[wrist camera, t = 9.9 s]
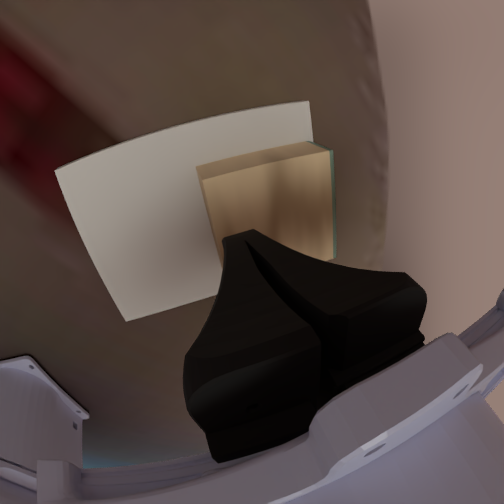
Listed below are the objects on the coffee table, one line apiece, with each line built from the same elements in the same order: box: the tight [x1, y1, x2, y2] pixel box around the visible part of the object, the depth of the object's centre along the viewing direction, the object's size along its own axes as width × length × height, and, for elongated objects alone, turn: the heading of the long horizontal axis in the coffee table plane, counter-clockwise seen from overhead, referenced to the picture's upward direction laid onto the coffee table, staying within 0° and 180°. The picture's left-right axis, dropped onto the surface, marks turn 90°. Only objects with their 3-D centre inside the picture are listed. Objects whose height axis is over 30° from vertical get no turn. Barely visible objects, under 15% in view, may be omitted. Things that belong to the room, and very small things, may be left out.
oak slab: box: [195, 141, 336, 270], centre depth 15 cm, size 6×2×6 cm
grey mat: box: [55, 101, 313, 322], centre depth 15 cm, size 10×13×1 cm
